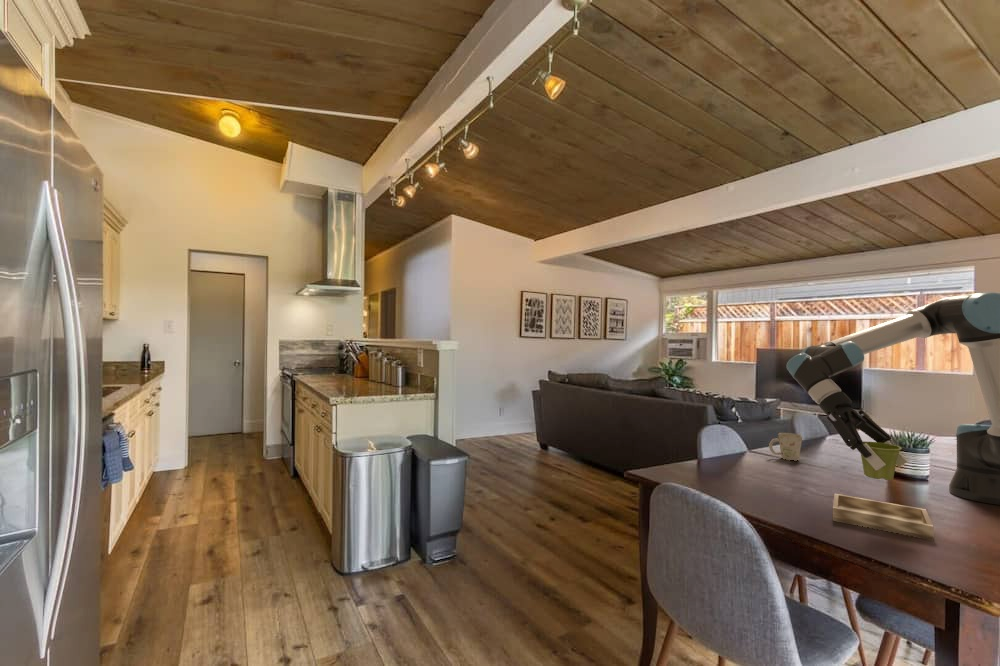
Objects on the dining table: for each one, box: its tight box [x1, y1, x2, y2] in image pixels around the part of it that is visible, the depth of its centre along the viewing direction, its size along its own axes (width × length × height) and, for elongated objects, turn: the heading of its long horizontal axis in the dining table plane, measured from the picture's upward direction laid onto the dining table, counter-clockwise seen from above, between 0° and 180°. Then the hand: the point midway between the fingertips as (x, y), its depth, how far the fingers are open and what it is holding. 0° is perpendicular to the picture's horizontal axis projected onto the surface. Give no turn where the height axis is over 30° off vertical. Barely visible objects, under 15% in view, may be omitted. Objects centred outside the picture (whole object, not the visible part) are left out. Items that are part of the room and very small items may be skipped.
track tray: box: [832, 493, 935, 542], centre depth 125 cm, size 20×15×4 cm
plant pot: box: [860, 441, 902, 481], centre depth 126 cm, size 9×9×9 cm
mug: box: [768, 432, 803, 462], centre depth 192 cm, size 8×13×10 cm, turn 89°
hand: (892, 465), depth 123 cm, fingers closed on plant pot, 9 cm apart
